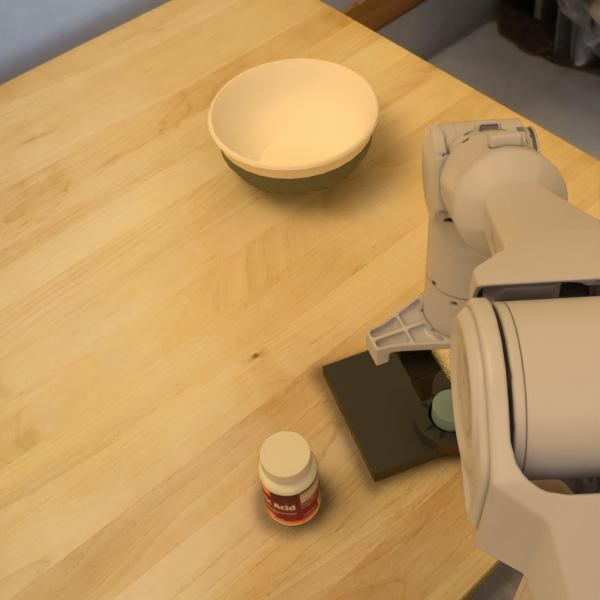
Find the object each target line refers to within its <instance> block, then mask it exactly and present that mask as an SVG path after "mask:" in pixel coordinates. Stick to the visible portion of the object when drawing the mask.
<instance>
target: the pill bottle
mask: <svg viewBox="0 0 600 600" xmlns="http://www.w3.org/2000/svg"><path fill="white" fill-rule="evenodd" d="M318 465H319V464H318V460H317V457H316V455H315V453H314V452H313V451H312V449H311V446H310V444H309V442H308V440H307V439H306V438H305V437H304V436H303V435H301V434H300V433H297V432H294V431H291V430H281V431H277V432H275V433H273V434H271V435H269V436H268V437H267V438H266V439H265V440H264V441H263V443H262V445H261V447H260V450H259V462H258V467H257V473H258V479H259V482H260V486H261V492H262V496H263V500H264V504H265V508H266V511H267V512H268V514H269V515H270V517H271V518H272V519H273V520H274V521H276V522H277V523H279V524H281V525H283V526H288V527H289V526H290V527H294V526H302V525H303V524H305V523H308V522H309V521H310V520H312V519H313V518H314V517H315V516H316V514H317V513H318V512H319V509H320V506H321V501H322V495H321V486H320V475H319V468H318V467H319V466H318Z"/></svg>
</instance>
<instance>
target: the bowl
mask: <svg viewBox="0 0 600 600" xmlns="http://www.w3.org/2000/svg"><path fill="white" fill-rule="evenodd" d="M380 111H381V106H380V102H379V97H378V95H377V93H376V91H375V89H374V88H373V86H372V85H371V84H370V83H369V82H368V80H367V79H365V77H363V76H362V75H361V74H360V73H358V72H356V71H355V70H353V69H351V68H349V67H347V66H345V65H343V64H340V63H336V62H333V61H330V60H325V59H318V58H313V57H312V58H311V57H310V58H309V57H308V58H306V57H304V58H302V57H295V58H294V57H293V58H285V59H278V60H274V61H269V62H265V63H262V64H259V65H256V66H253V67H250V68H248V69H247V70H244V71H243V72H241V73H239V74H237V75H236V76H235V77H233V78H232V79H230V80H229V81H227V82H226V83H225V85H224V86H222V87H221V89H220V90H219V91H218V92H217V93H216V95H215V96H214V98H213V100H212V102H211V103H210V106H209V110H208V112H207V127H208V130H209V134H210V137H211V138H212V140H213V141H214V142H215V144H216V146H217V147H218V148H219V149H220V152H221V155H222V158H223V160H224V162H225V163H226V164H227V166H228V168H230V169H231V170H232V171H233V172H234V173H235V174H236V175H237V176H238V177H240V179H242V180H243V181H244V182H245V183H247V184H249V185H251V186H252V187H253V188H256V189H259V190H262V191H264V192H268V193H272V194H273V193H274V194H279V195H305V194H311V193H314V192H319V191H322V190H325V189H328V188H330V187H332V186H335V185H336V184H338V183H340V182H342V181H343V180H345V179H346V178H348V176H350V175H351V174H352V173H353V172H354V171H355V170H356V169H357V167H358V166H359V165H360V163H361V162H362V161H363V160H364V158H365V157H366V156H367V154H368V152H369V149H370V147H371V145H372V140H373V139H372V138H373V133H374V131H375V129H376V127H377V125H378V122H379V119H380Z"/></svg>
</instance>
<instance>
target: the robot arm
mask: <svg viewBox="0 0 600 600" xmlns="http://www.w3.org/2000/svg"><path fill="white" fill-rule="evenodd" d="M540 146H541V145H540V141H539V137H538V133H537V131H536V129H535V127H534V126H533V125H528V126H524V125H523V122H522V121H521V119H520V118H518V117H511V118H510V117H509V118H497V119H496V118H485V119H477V120H465V121H451V122H439V123H438V124H435V123H434V122H433V123H429V124H428V125H426V126H425V130H424V135H423V140H422V146H421V147H422V148H421V178H422V180H421V181H422V189H423V197H424V202H425V206H426V209H427V213H428V221H427V222H428V224H427V237H426V238H427V239H426V252H425V253H426V255H425V256H426V257H425V270H424V286H423V287H424V290H423V292H421V293H420V294H418V295H417V296H416V297H415V298H413V299H412V300H411V301H410V302H408V303H407V304H405V305H404V306H403V307H402V308H400V309H399V310H398V311H396V312H395V313H394V314H392V315H391V316H390V317H388V318H387V319H386V320H384V321H382V322H381V323H380V324H377V325H375V326H373V327H371V328H368V329H366V330H365V347H366V349H367V350H368V351H369V353H370V355H371V356H372V358H373V360H374V362H375V364H376V365H381V364H383V363H386V362H388V361H389V355H390V353H392V352H395V353H396V355H397V356H398V358H399V360H400V362H401V364H402V365H403V367H404V369H405V371H406V372H407V374H408V375H409V377H410V379H411V384H412V386H413V388H414V389H415V391H416V393H417V395H418V397H419V398H420V400H421V401H422V402H424V401H426V400H429V399H430V398H431V396H432V386H433V381H434V378H435V377H436V375H437V374H438V372H440V371H441V368H440V366H441V365H440V366H439V365H438V363H437V361H438V360H437V361H436V360H435V358H434V356H435V355H434V356H433V355H432V353H431V352H433V350H434V351H435V350H449V364H450V365H449V366H450V367H449V368H450V383H451V391H452V404H453V414H454V422H455V429H456V436H457V442H458V447H459V451H460V454H459V457H460V467H461V479H462V489H463V501H464V510H465V517H466V519H467V523H468V524H469V525H470V526H471V527H472V529H473V540H474V546H475V548H476V549H478V551H481V552H483V553H484V554H487V555H488V556H490V557H491V558H494V559H495V560H498V561H499V562H501V563H503V564H505V565H507V566H508V567H510V568H512V569H514V570H516V571H518V572H519V573H521V574H523V575H522V578H521V580H520V583H519V585H518V587H517V590H516V592H515V595H514V597H513V599H512V600H600V219H598V218H596V217H594V216H593V215H591V214H590V213H588V212H586V211H584V210H582V209H581V208H580V207H578V206H576V205H574V204H573V203H571V202H569V192H568V188H567V187H568V186H567V184H566V181H565V178H564V177H563V175H562V173H561V172H560V170H559V169H558V168H557V166H555V164H554V163H552V161H550V160H549V159H548V158H547V157H545V156H544V155H542V154H541V147H540Z"/></svg>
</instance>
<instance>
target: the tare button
mask: <svg viewBox="0 0 600 600" xmlns="http://www.w3.org/2000/svg"><path fill="white" fill-rule="evenodd" d="M432 420H433V422H434V423H435V424H436V426H438V427H439V428H440V429H442V430H445V431H450V432H453V431H456V429H455V422H454V414H453V404H452V391H451V389H448V390H443V391H441V392H439V393H438V394H437V395H436V396H435V397H434V399H433V403H432Z"/></svg>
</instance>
